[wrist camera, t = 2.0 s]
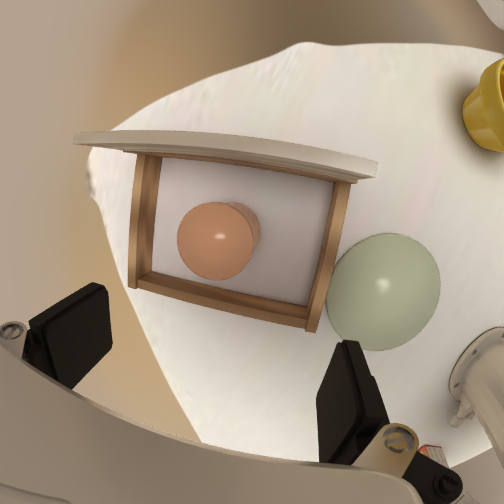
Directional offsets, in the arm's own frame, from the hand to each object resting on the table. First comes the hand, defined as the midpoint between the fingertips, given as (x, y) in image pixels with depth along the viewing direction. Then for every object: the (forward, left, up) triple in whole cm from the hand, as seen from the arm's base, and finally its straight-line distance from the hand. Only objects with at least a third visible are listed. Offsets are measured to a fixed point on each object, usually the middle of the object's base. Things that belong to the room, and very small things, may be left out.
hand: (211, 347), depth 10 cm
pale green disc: (-3, -13, -18) cm, 23 cm away
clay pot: (+1, +4, -18) cm, 19 cm away
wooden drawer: (+1, +4, -18) cm, 19 cm away
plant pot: (+19, -22, -19) cm, 35 cm away
